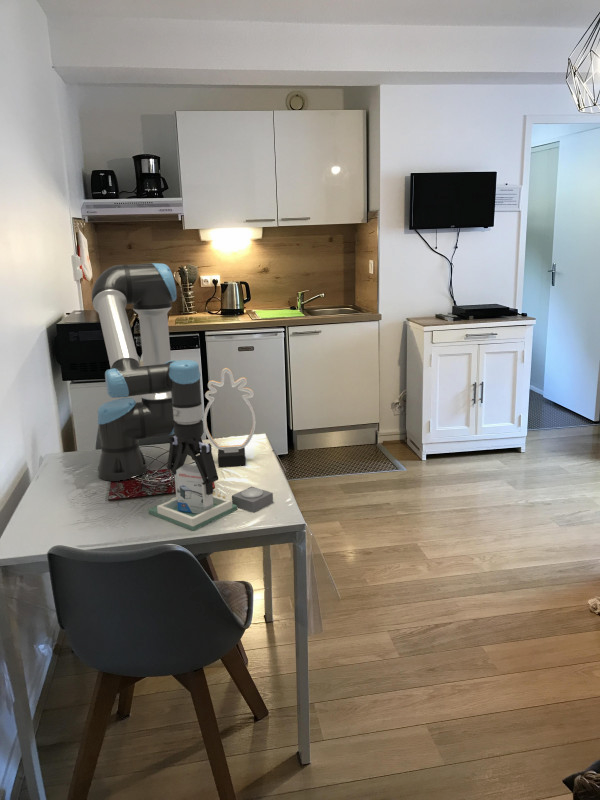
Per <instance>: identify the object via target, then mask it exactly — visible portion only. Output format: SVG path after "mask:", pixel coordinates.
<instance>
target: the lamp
mask: <svg viewBox="0 0 600 800" xmlns="http://www.w3.org/2000/svg"><path fill="white" fill-rule="evenodd" d="M226 373H227V374H228V377H229V379H230V380H229V381H230V385H231V388H235V387H237V386H238V385H239V386H238V387H237V390H238V391H239V392H240V391H241V392H246V393H248V394H243V395H241V398H242V400H243V401H244V402H245V404H246V405H247V406H248V408H249V410H250V412H251V417H252V425H251V429H250V432H249V435H248V437H247V438H246V440H245V441H244V442H243V443H242V444H236V445H235V444H234V445H220V444H219V443H217V442H216V441H215V439H214V438H213V437H212V435H211V433H210V431H209V428H208V422H207V416H208V413H209V410H210V408H211V405H212V404H213V403H214V401H215V397H214V396H211V395H212V394H217V392H218V390H217V388H216V387H220V388H222V387H223V386H224V384H225V374H226ZM234 378H235V377H234V374H233V372H232V370H231V369H230V368H228V367H224V368H223V369H221V372H220V381H217V380H213V379H212V380H209V381H208V383H207V388H208V389H209V390H207V391H206V392H205V394H204V397H205V398H206V399H207V400H208V402H207V405H206V406H205V410H204V413H203V418H202V419H203V420H202V421H203V429H204V433H205V435H206V437H207V438H208V440H209V441H210V444H211V445H213V447H215V448H216V449H217V463H218V466H217V467H218V469H219V468H222V469H223V468H234V467H235V468H236V467H237V468H238V467H246V466H247V465H246V463H247V461H246V449H245V448H246V446H248V444H249V443H250V442H251V440H252V438H253V435H254V432H255V430H256V424H257V423H256V420H257V419H256V413H255V409H254V407H253V405H252V404H251V402H250V400H249V399H252V398H253V397H254V395H255V392H254V390H253V389H251V388H249V387H246V385H247V384H248V380H247V377H244V376H243V377H240V378H238V379H237V380H235V379H234ZM213 385H214V386H216V387H214V386H213Z"/></svg>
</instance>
